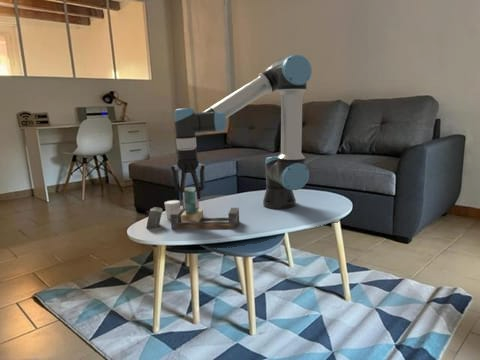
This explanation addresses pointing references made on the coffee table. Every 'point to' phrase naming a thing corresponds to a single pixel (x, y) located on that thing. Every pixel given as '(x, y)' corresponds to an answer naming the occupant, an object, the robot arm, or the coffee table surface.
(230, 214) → the rail
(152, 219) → the mineral specimen
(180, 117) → the robot arm
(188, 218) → the carriage
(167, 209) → the white cup
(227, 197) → the coffee table surface
